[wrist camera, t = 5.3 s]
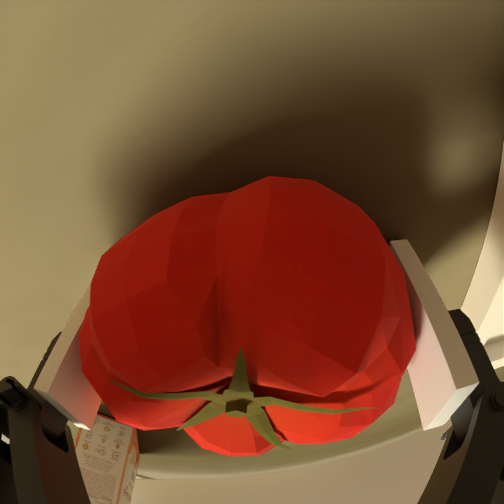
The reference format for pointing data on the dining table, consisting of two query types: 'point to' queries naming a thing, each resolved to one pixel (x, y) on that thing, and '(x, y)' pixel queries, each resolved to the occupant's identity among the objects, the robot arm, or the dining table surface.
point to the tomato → (250, 319)
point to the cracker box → (108, 460)
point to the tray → (490, 283)
